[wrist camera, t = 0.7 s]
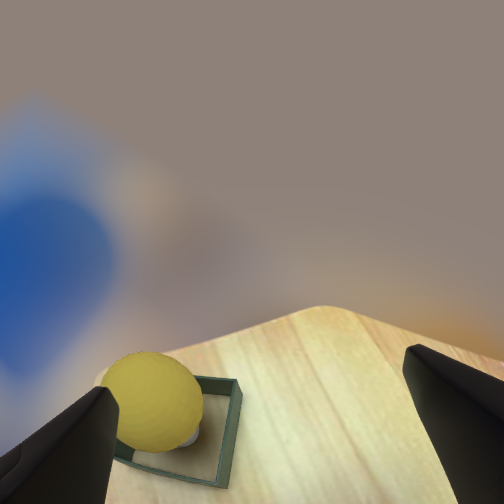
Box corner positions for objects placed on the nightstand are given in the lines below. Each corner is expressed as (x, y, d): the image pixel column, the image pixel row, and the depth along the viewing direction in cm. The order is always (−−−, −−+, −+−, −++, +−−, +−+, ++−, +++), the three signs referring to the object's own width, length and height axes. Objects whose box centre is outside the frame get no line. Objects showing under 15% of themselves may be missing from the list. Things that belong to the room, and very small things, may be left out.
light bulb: (146, 470, 17) (70, 430, 11) (147, 400, 23) (88, 335, 16) (229, 467, 18) (186, 434, 11) (221, 393, 23) (185, 323, 17)
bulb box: (227, 488, 16) (217, 485, 14) (127, 465, 18) (108, 456, 16) (242, 394, 23) (236, 378, 21) (152, 383, 24) (138, 367, 22)
